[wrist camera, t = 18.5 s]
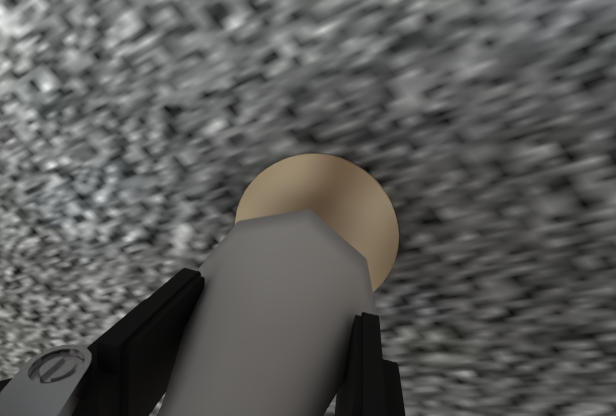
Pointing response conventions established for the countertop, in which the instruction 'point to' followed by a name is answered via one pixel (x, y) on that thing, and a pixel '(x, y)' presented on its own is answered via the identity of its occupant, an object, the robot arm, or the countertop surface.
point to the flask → (270, 321)
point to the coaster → (330, 204)
